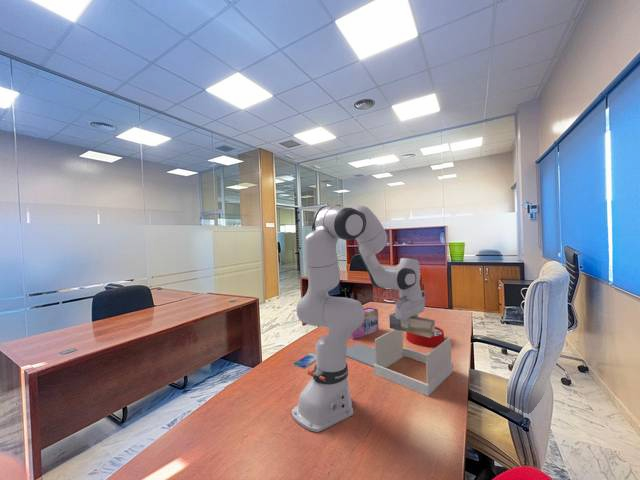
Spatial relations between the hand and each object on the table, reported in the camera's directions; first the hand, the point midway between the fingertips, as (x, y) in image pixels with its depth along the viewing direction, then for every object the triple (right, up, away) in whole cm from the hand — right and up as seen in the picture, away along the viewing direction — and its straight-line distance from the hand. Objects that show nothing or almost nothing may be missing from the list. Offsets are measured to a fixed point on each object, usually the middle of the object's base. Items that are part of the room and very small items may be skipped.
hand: (410, 325), depth 116 cm
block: (0, -2, 0) cm, 2 cm away
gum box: (-14, -21, +49) cm, 55 cm away
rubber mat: (-16, -21, +18) cm, 32 cm away
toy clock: (+20, -20, +36) cm, 45 cm away
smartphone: (-46, -22, +15) cm, 53 cm away
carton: (+1, -21, 0) cm, 21 cm away
